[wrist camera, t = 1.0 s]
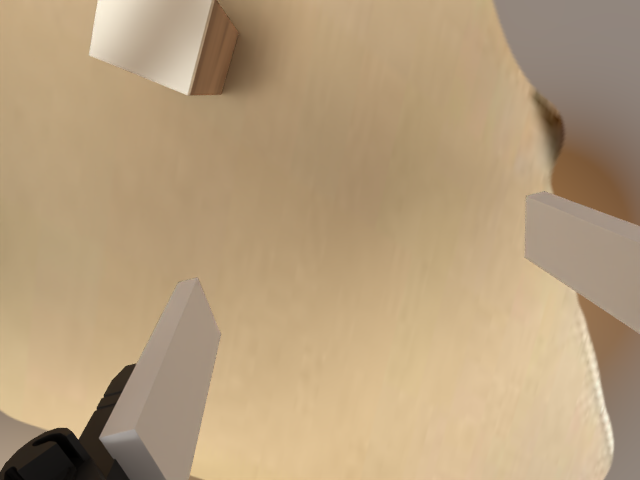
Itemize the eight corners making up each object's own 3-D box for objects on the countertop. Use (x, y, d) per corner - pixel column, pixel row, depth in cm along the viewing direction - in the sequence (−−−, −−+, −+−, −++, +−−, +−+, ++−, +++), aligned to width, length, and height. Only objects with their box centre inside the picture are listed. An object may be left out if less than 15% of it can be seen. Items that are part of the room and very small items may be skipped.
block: (161, 69, 29) (88, 55, 18) (176, 3, 28) (106, -56, 16) (221, 94, 30) (187, 95, 19) (238, 32, 29) (213, -5, 18)
